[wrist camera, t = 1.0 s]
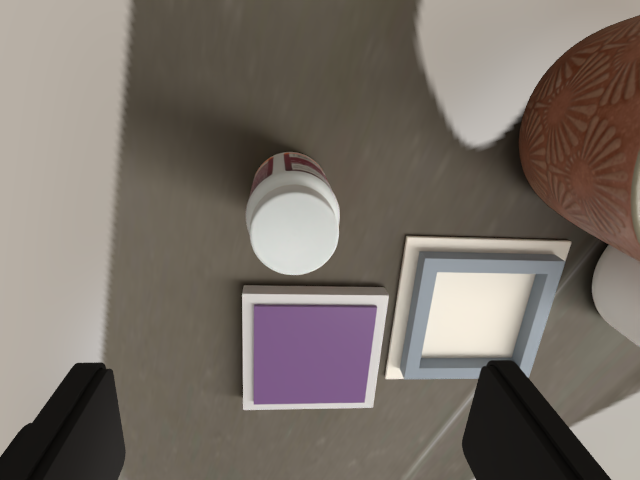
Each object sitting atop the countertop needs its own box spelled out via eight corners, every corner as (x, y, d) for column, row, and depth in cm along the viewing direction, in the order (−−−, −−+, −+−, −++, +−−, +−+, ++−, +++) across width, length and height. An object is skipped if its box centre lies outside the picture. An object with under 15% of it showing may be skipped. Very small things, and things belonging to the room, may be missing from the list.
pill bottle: (269, 233, 27) (264, 297, 19) (241, 165, 25) (222, 205, 17) (337, 209, 26) (360, 264, 19) (313, 139, 25) (328, 168, 17)
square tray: (406, 235, 28) (412, 243, 26) (568, 240, 29) (583, 248, 27) (384, 376, 32) (389, 389, 31) (526, 374, 33) (537, 387, 32)
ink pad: (243, 285, 28) (241, 296, 26) (384, 287, 29) (389, 297, 28) (244, 398, 32) (242, 413, 30) (369, 396, 33) (373, 410, 31)
